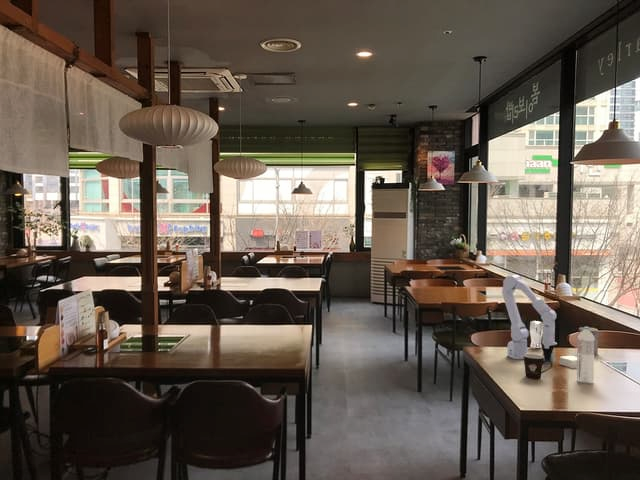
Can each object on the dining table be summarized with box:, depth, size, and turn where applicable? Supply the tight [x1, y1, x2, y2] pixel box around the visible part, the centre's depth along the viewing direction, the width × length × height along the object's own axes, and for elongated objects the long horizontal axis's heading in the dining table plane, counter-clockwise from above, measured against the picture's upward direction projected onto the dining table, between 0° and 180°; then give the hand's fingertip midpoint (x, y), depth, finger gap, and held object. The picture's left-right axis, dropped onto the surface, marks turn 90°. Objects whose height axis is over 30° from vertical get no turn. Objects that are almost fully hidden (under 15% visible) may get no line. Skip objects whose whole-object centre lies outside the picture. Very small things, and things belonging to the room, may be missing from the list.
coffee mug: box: [523, 353, 553, 381], centre depth 239 cm, size 12×9×10 cm
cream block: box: [558, 355, 577, 369], centre depth 263 cm, size 8×8×4 cm
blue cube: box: [541, 351, 555, 365], centre depth 268 cm, size 5×5×5 cm
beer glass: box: [529, 320, 543, 349], centre depth 302 cm, size 7×7×15 cm
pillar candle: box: [578, 326, 599, 356], centre depth 289 cm, size 10×10×15 cm
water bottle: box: [576, 326, 595, 385], centre depth 234 cm, size 7×7×25 cm
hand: (548, 359), depth 268 cm, fingers closed on blue cube, 5 cm apart
